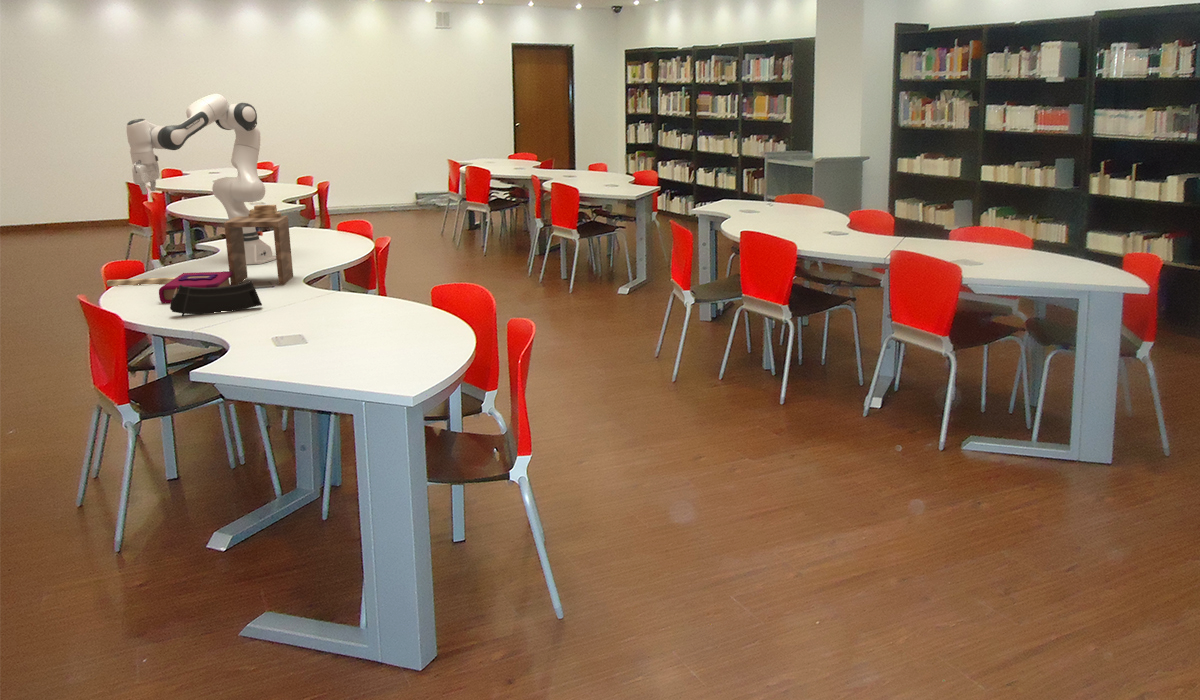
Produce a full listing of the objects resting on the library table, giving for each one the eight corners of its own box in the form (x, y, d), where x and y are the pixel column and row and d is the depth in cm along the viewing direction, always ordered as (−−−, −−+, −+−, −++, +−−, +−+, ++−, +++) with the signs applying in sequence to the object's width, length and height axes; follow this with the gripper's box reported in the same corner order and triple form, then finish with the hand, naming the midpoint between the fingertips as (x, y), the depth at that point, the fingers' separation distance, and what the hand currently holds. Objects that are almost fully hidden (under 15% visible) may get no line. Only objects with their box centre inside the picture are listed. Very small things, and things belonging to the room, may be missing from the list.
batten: (107, 287, 394) (106, 281, 394) (109, 285, 397) (108, 280, 396) (179, 284, 399) (178, 278, 398) (181, 283, 402) (180, 277, 401)
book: (160, 304, 362) (157, 284, 360) (181, 289, 389) (179, 271, 387) (218, 302, 364) (216, 283, 362) (235, 288, 391) (233, 269, 389)
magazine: (265, 282, 354) (178, 265, 339) (267, 283, 351) (179, 267, 336) (256, 327, 356) (168, 312, 341) (257, 329, 353) (169, 314, 338)
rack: (230, 286, 393) (222, 210, 385) (242, 277, 411) (235, 205, 403) (283, 285, 395) (276, 209, 387) (293, 276, 413) (286, 204, 405)
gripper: (141, 161, 392) (148, 195, 396) (159, 156, 411) (165, 188, 416) (125, 162, 392) (132, 196, 396) (144, 157, 411) (150, 189, 415)
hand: (149, 192), depth 406 cm, fingers open, 8 cm apart
